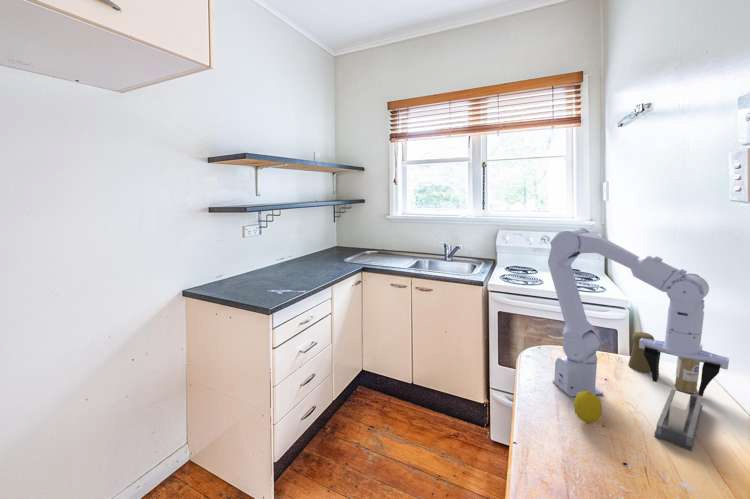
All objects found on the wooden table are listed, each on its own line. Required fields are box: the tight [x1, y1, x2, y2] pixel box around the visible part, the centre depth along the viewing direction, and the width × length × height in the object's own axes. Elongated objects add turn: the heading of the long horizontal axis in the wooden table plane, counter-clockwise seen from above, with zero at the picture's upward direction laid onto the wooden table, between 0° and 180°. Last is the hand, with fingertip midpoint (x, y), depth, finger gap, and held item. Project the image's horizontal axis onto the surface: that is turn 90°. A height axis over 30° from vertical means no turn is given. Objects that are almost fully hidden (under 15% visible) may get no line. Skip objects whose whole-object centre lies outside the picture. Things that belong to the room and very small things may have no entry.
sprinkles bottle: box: [674, 343, 703, 394], centre depth 89 cm, size 5×5×13 cm
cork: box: [627, 331, 655, 374], centre depth 101 cm, size 6×6×11 cm
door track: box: [653, 388, 703, 452], centre depth 77 cm, size 20×6×3 cm, turn 131°
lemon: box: [573, 391, 603, 424], centre depth 77 cm, size 6×6×8 cm
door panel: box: [668, 390, 691, 432], centre depth 74 cm, size 8×2×6 cm, turn 131°
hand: (677, 386), depth 75 cm, fingers open, 7 cm apart
